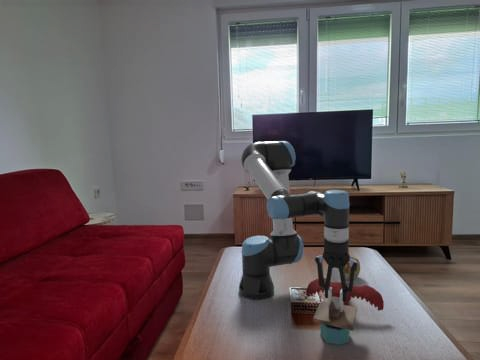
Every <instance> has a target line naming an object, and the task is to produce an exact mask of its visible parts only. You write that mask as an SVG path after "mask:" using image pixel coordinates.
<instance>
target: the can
mask: <svg viewBox="0 0 480 360" xmlns="http://www.w3.org/2000/svg"><path fill="white" fill-rule="evenodd" d="M327 270H328V268H327ZM327 270H326V271H327ZM330 282H341V279H340V272H339V269H338V268H333V269H332V275H331V280H330Z"/></svg>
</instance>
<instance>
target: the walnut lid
mask: <svg viewBox="0 0 480 360" xmlns="http://www.w3.org/2000/svg"><path fill="white" fill-rule="evenodd" d="M357 312H358V307H355V306H351V305H349V306H346V305H343V311H342V312H340V297H334V296H332V301H331V303H330V306H329V309H328V301H324V300H320V302H319V304H318V307H317V308H316V311H315V313H314V316H313V317H312V322H314V323H318V324H320V325H321V324H326V325H330V326H335V327H339V328H344V329H349V330H350V331H354V326H355V320H356V317H357V314H358V313H357Z"/></svg>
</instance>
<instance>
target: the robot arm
mask: <svg viewBox="0 0 480 360" xmlns="http://www.w3.org/2000/svg"><path fill="white" fill-rule="evenodd" d="M295 151H296V150H295V149H294V147H293V145H292V144H291V143H290V142H289V141H286V140H273V141H271V140H270V141H255V142H252V143H250V144H249V145H247V146H246V148H244V149H243V152H242V154H241V159H240V161H241V166H242V168H243V169H244V171H245V172H246V173H247V174H250V176H251V177H252V178H253V180H254V182H255V183H256V184H257V186H258V187H259V189H260V190H261V192H262V193H263V195H264V196H265V198H266V199H267V201H266V210H267V214H268V217H269V218H271V220H272V226H273V227H272V228H273V230H272V231H271V232H270V238H269V237H268V236H265V235H253V236H250V237H247V238H246V239H245V240H244V241H243V242H242V245H241V260H242V261H241V263H242V264H241V265H242V266H241V267H242V269H241V270H242V274H241V278H240V282H239V285H238V293H239V294H240V296H241V297H242V298H243V297H244V298H246V299H248V300H264V299H267V298H270V297H271V296H273V294H274V292H275V285H274V282H273V280H272V276H271V274H270V268H271V267H277V266H283V265H291V264H295V263H298V262H300V261H301V260H302V258H303V255H304V251H305V250H304V247H305V246H304V242H303V238H302V237H301V236H300V235H298V233H297V232H298V231H296V230H295V229H294V226H293V218H300V217H311V216H320V217H323V222H324V223H323V227H324V228H323V238H324V239H323V253H322V254H320V255H319V254H318V255H316V256H315V258H314V261H315V263H316V266H317V267H316V268H317V279H319V286H320V287H323V288H324V289H325V290H324V298H325V299H327V302H328V309H329V306H330V303H331V301H332V298H333V296H332V287H329V286H330V280H331V275H332V269H333V268H338V269H339V272H340V279H341V285H342V289H341V291H340V312H342V311H343V301H345V302H346V300H347V292H348V291H350V292H352V289H353V286H354V281H355V279H354V275H355V268H356V267H357V264H358V261H359V260H358V261H357V260H353V259H351V258H350V257H351V256H350V253H349V246H350V245H349V243H350V242H349V237H350V234H349V233H350V227H349V225H350V195H349V192H348V191H346V190H341V189H329V190H326V191H325V192H324V193H323V192H321V191H318V190H317V191H314V190H311V191H308V192H306V193H301V194H291V192H290V180H289V179H290V178H289V174H290V173H291V171H292V167H294V166H295V165H296V157H297V155H296V152H295ZM324 261H325V263H326V264H327V269H328V270H326V277H324V268H323V267H324V265H323V263H324ZM348 262H350V266H351V270H350V279H348V284H349V286H347V279H346V276H345V270H344V266H345V265H346V264H347V263H348ZM324 278H325V279H326V282H324Z"/></svg>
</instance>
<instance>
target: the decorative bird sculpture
mask: <svg viewBox="0 0 480 360" xmlns="http://www.w3.org/2000/svg"><path fill="white" fill-rule="evenodd" d="M324 282H326V277H324ZM346 283H347V282H346ZM347 286H349V282H348V283H347ZM329 287H332V297H333V296H334V297H340V291H341V289H342V285H341V282H330V286H329ZM305 291H306V292H305V295H306V296H307V297H308V298H310V296H313V295H316V294H317V293H318V294H319V293H320V292H321V293H323V294H324V293H325V289H324V288H323V287H320V286H319V279H318V278H316V279H313V280H311V281H310V282H309V284H308V285H307V287H306V290H305ZM355 298H356V299H357V300H358V299H360V300H361V301H363V300H364V299H365V301H366V303H369V304H370V306H374V308H377V311H378V312H380V311H383V310H384V305H385V303H384V302H385V301H384V298H383V296H382V294H381V293H380V292H379V291H377V290H376V289H375V288H374V287H371V286H369V285H367V284H363V285H359V286H358V285H353V289H352V292H350V291H348V292H347V300H346V302H345V301H343V305H346V306H350V305H349V304H350V302H351V300H352V299H355Z"/></svg>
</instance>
